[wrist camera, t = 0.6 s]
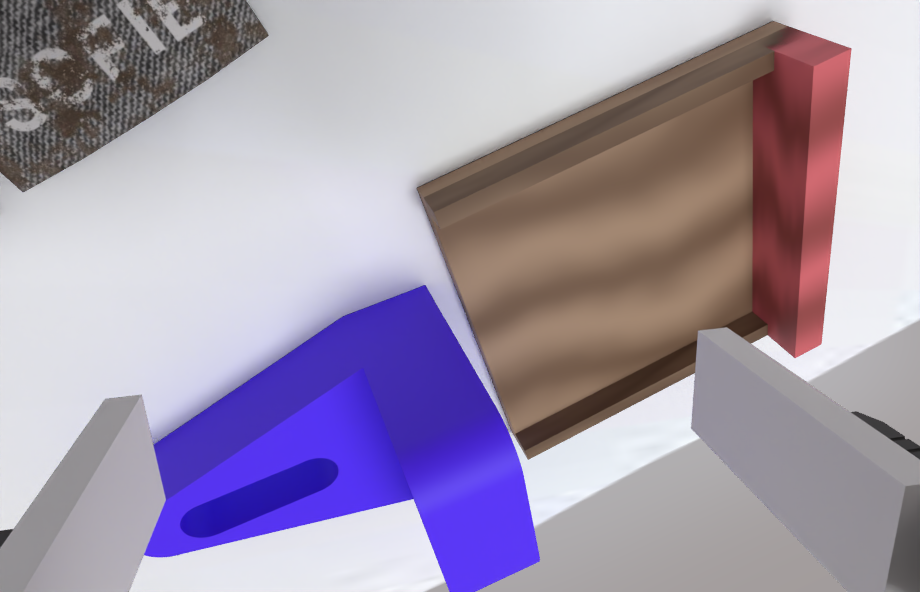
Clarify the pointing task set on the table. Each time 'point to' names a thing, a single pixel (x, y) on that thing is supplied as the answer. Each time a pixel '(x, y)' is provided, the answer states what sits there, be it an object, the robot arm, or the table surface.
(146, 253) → the table surface
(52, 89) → the keychain
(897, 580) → the robot arm
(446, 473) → the bracket
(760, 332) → the walnut stop track
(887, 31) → the table surface
